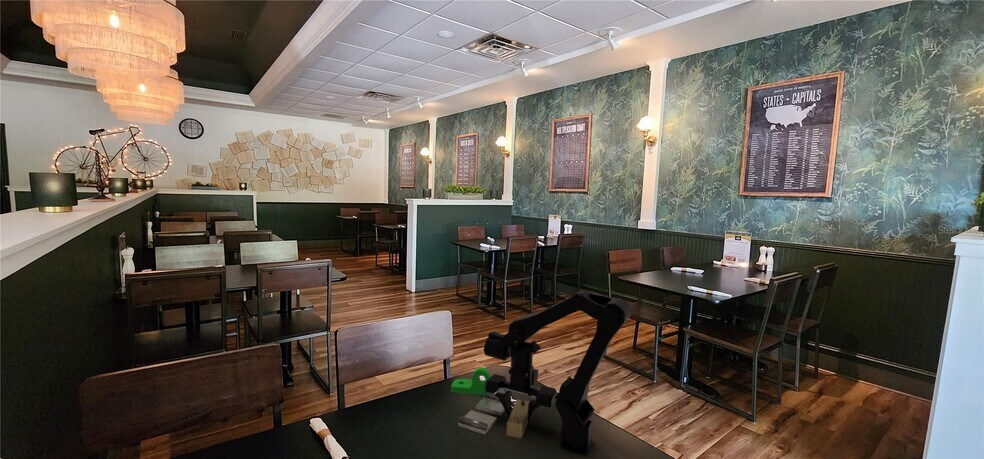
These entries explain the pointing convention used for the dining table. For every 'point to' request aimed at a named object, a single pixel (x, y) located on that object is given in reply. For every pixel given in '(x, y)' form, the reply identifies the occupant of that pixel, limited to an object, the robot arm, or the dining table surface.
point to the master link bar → (518, 419)
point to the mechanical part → (472, 383)
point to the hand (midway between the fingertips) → (519, 420)
